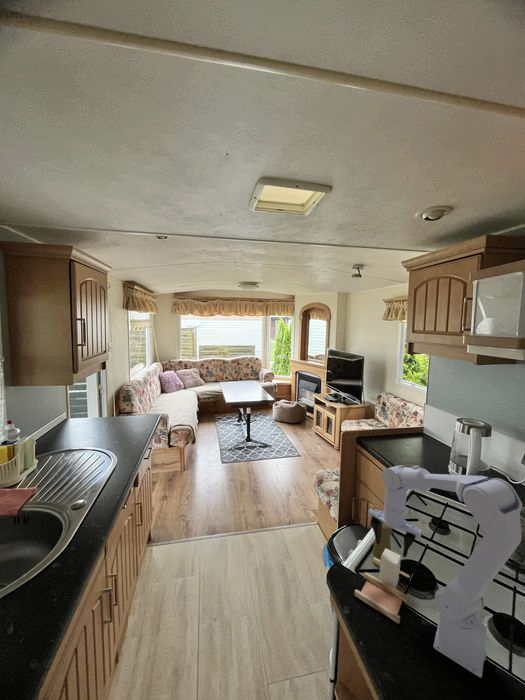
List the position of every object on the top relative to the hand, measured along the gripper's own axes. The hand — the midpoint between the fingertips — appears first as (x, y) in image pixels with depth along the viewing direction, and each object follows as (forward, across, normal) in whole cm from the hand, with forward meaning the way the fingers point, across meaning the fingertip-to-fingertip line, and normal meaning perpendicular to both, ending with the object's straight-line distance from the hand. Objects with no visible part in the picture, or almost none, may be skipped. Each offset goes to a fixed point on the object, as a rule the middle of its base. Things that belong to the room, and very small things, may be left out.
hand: (391, 548), depth 89 cm
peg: (+10, 0, 0) cm, 10 cm away
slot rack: (+10, 0, +4) cm, 11 cm away
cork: (+11, +5, -9) cm, 15 cm away
